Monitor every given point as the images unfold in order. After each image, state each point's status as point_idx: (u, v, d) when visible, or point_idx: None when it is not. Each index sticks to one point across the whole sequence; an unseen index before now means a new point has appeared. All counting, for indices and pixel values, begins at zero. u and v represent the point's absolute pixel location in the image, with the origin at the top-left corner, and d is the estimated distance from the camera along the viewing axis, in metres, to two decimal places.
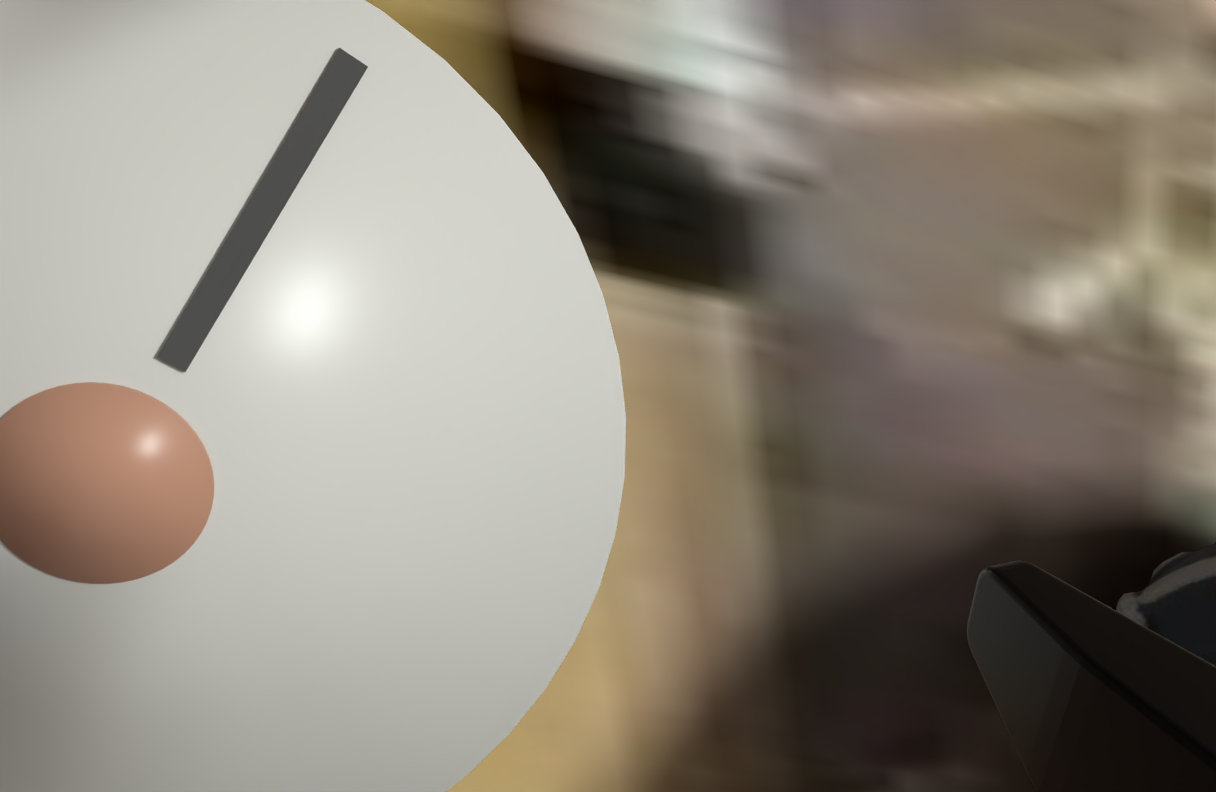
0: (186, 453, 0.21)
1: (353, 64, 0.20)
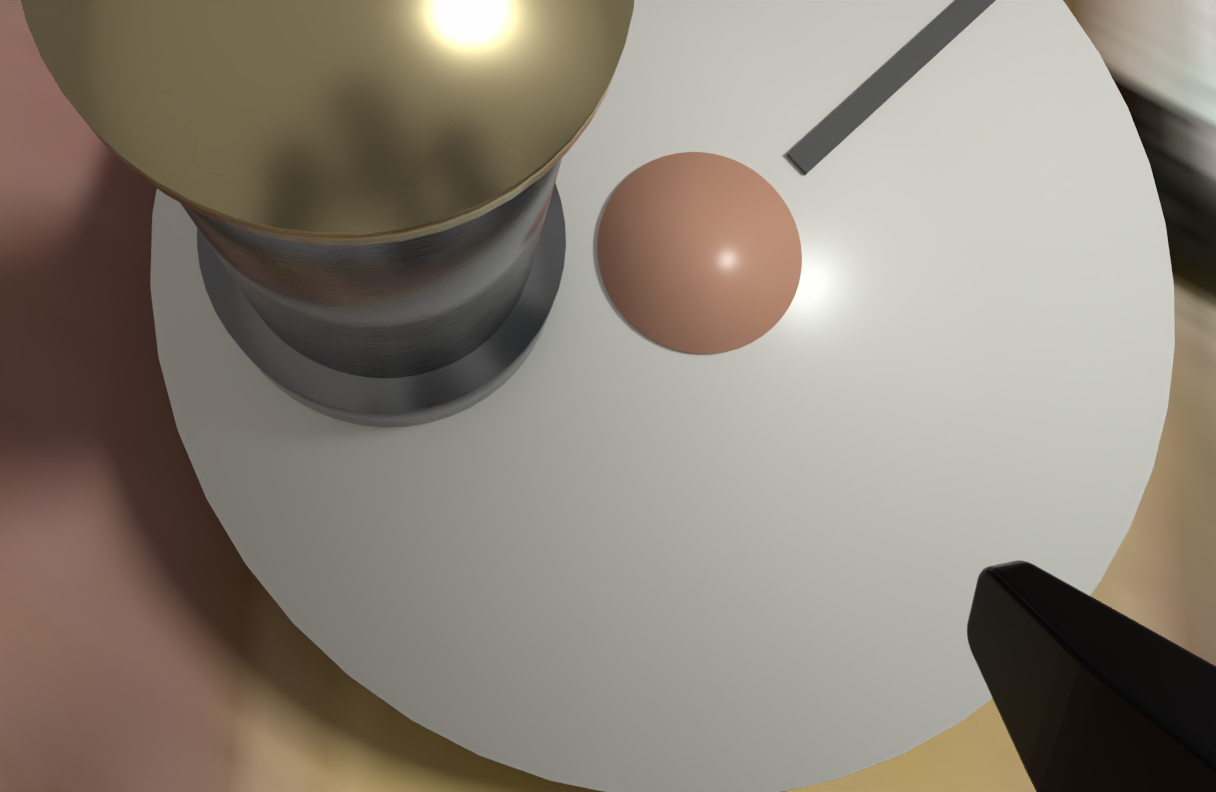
0: (785, 245, 0.22)
1: None
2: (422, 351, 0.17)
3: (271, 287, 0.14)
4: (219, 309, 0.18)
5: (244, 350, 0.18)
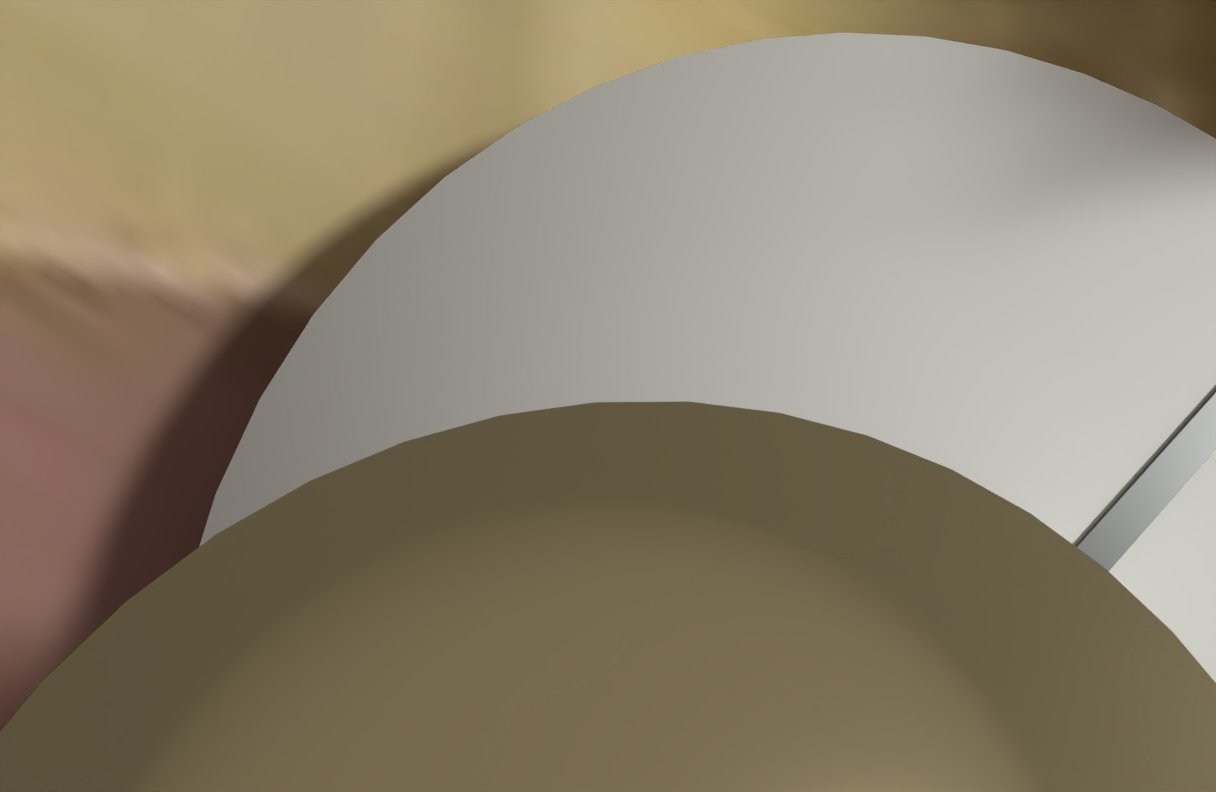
0: None
1: None
2: None
3: None
4: None
5: None
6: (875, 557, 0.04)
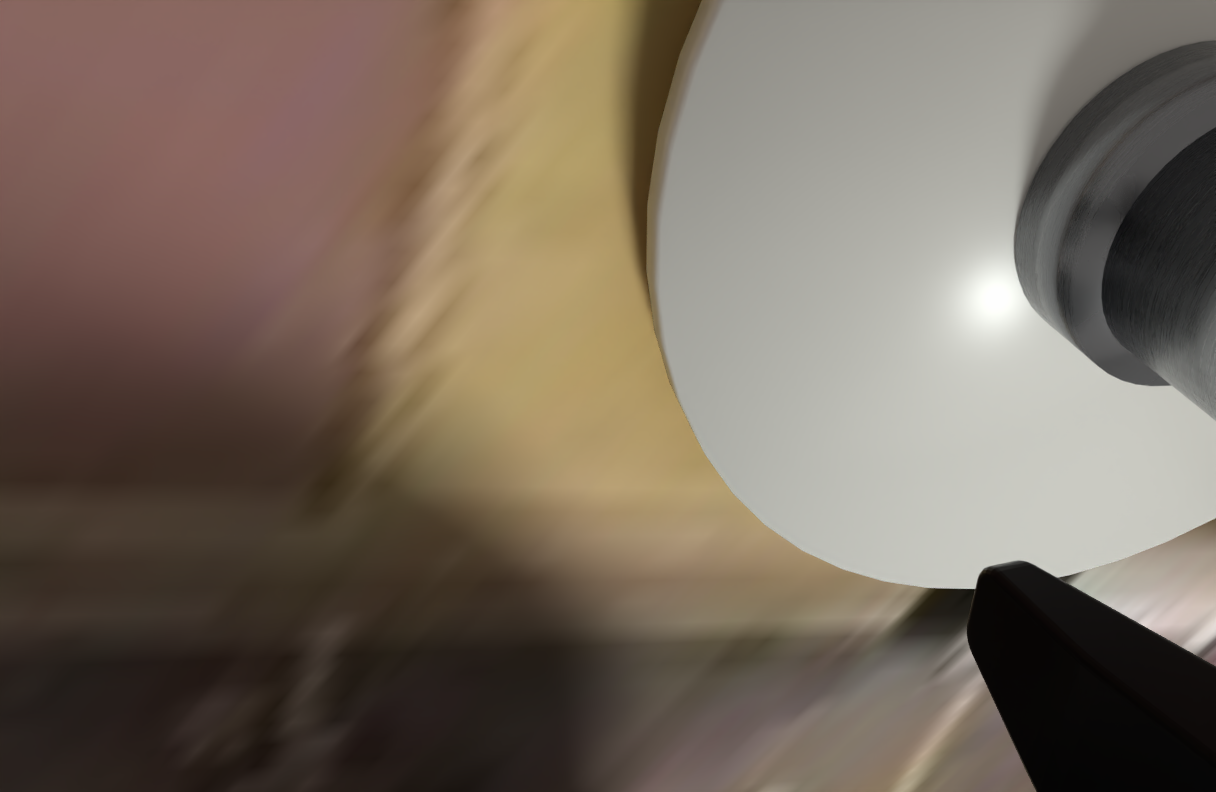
0: None
1: None
2: (1169, 320, 0.18)
3: None
4: None
5: (1192, 114, 0.18)
6: None
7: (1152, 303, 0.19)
